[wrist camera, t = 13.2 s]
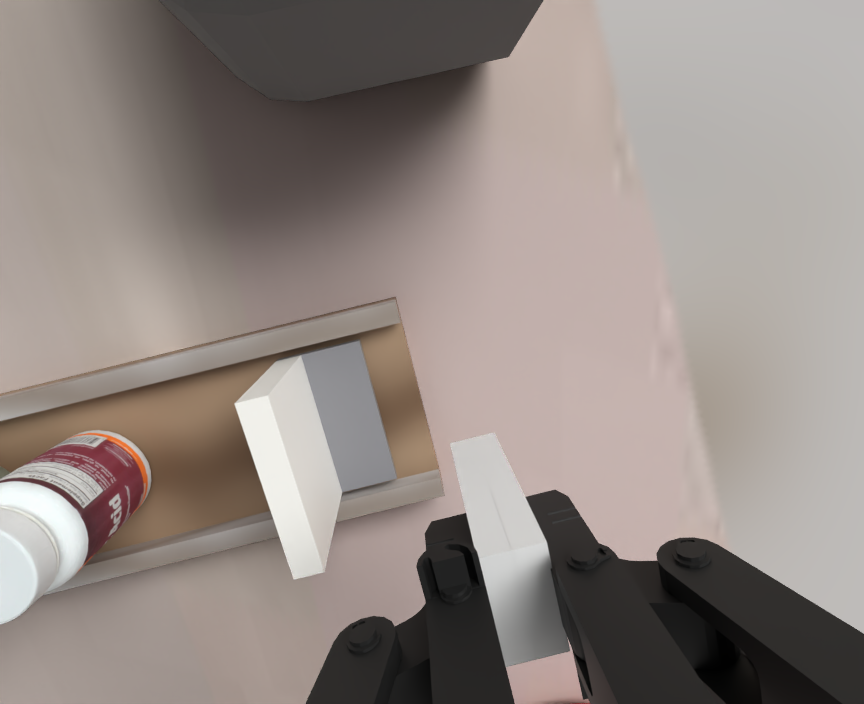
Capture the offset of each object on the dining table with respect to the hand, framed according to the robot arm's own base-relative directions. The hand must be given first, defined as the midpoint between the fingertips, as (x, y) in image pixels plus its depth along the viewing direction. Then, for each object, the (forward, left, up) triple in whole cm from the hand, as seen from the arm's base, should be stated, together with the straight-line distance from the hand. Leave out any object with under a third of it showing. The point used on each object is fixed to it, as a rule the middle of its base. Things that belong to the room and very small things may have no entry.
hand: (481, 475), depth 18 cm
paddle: (0, -6, -9) cm, 11 cm away
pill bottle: (0, -18, -10) cm, 20 cm away
